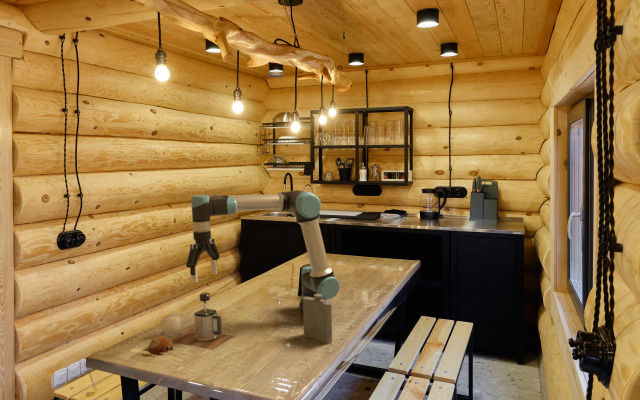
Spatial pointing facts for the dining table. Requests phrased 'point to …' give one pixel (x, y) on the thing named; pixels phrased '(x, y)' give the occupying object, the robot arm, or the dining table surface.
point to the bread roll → (160, 345)
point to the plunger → (205, 299)
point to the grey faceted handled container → (207, 325)
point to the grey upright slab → (317, 318)
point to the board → (190, 339)
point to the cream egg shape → (171, 325)
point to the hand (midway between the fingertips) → (204, 278)
